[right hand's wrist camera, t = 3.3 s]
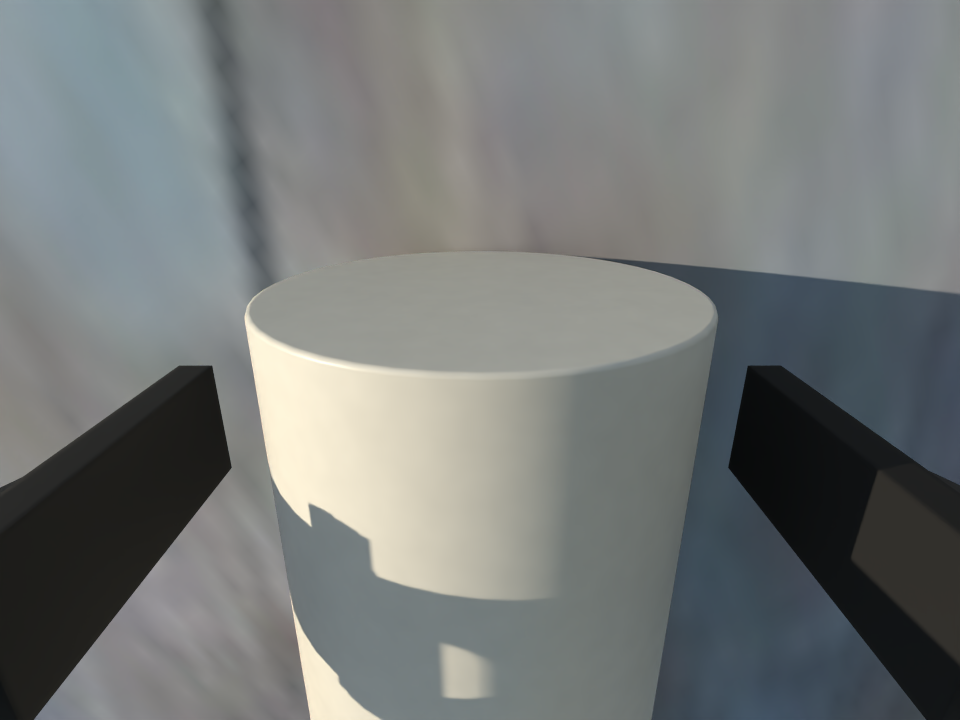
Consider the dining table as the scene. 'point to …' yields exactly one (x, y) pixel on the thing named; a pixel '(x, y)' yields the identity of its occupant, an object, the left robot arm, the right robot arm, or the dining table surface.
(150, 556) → the right robot arm
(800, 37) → the dining table surface
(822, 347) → the dining table surface
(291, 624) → the dining table surface
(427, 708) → the paper towel roll
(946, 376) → the dining table surface
